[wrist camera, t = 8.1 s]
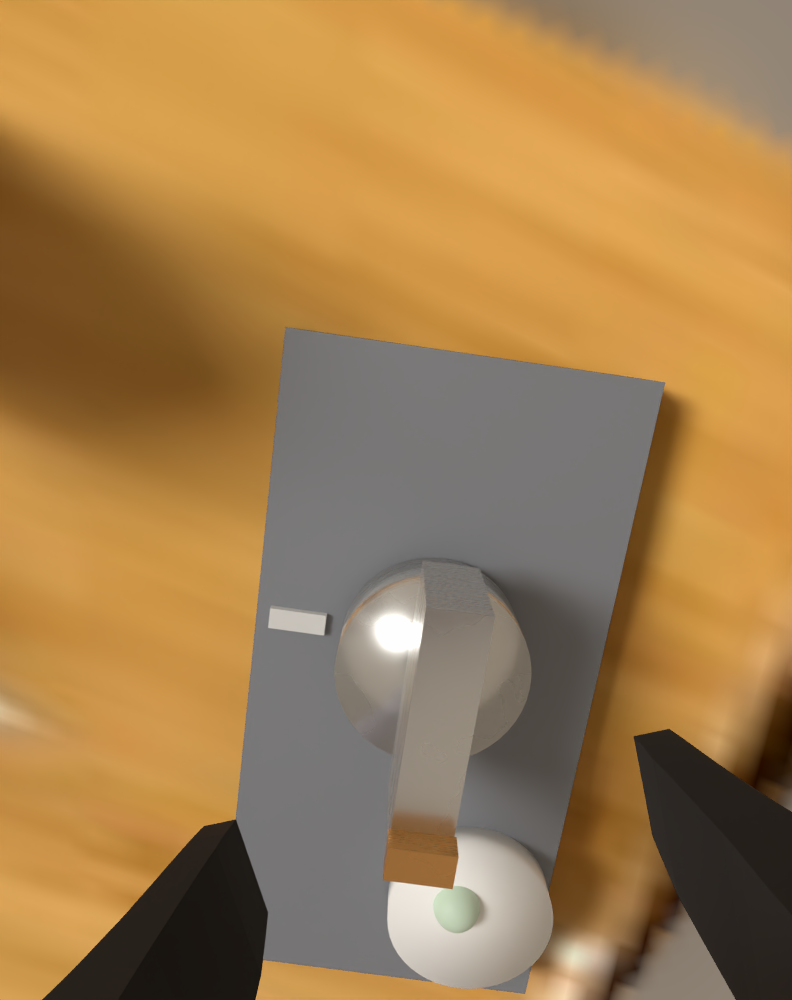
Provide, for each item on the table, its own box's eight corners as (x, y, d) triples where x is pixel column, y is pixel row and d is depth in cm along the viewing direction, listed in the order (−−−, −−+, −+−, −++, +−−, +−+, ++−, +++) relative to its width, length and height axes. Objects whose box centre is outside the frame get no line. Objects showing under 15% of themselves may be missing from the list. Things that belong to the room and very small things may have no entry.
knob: (355, 528, 18) (334, 605, 13) (536, 553, 19) (591, 641, 13) (329, 724, 20) (301, 869, 14) (498, 746, 20) (534, 900, 14)
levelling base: (517, 953, 24) (534, 1046, 21) (233, 916, 24) (207, 1004, 20) (645, 379, 19) (691, 386, 16) (294, 328, 19) (273, 325, 16)
